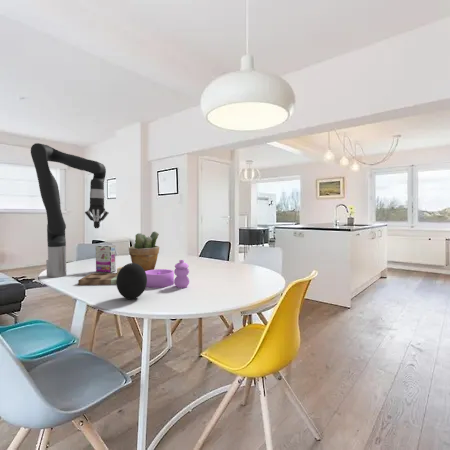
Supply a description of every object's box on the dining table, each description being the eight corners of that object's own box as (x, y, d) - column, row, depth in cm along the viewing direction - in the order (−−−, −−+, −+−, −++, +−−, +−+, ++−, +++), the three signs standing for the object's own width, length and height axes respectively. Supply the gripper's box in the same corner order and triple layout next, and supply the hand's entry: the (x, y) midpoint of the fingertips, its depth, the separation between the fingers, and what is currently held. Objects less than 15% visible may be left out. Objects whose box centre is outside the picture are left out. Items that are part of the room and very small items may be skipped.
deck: (78, 285, 152) (78, 275, 152) (91, 277, 170) (91, 268, 170) (127, 284, 154) (126, 274, 154) (134, 276, 172) (134, 268, 172)
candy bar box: (116, 271, 189) (115, 245, 189) (110, 272, 184) (110, 246, 184) (101, 270, 192) (100, 244, 192) (95, 271, 188) (95, 245, 187)
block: (117, 276, 160) (116, 268, 160) (119, 275, 165) (119, 266, 165) (126, 276, 161) (126, 268, 160) (128, 274, 166) (128, 266, 165)
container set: (136, 286, 151) (136, 259, 150) (155, 280, 165) (155, 256, 164) (180, 291, 141) (180, 262, 140) (195, 284, 155) (195, 258, 154)
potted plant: (141, 276, 174) (140, 233, 174) (122, 272, 186) (121, 231, 185) (165, 271, 189) (165, 231, 188) (146, 268, 200) (146, 230, 199)
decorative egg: (110, 299, 126) (109, 263, 126) (134, 293, 137) (133, 260, 136) (129, 304, 119) (129, 266, 119) (153, 297, 130) (153, 262, 129)
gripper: (82, 196, 167) (82, 228, 167) (106, 197, 167) (106, 228, 168) (87, 197, 174) (87, 227, 174) (111, 198, 175) (110, 228, 175)
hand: (96, 228), depth 171 cm, fingers closed
